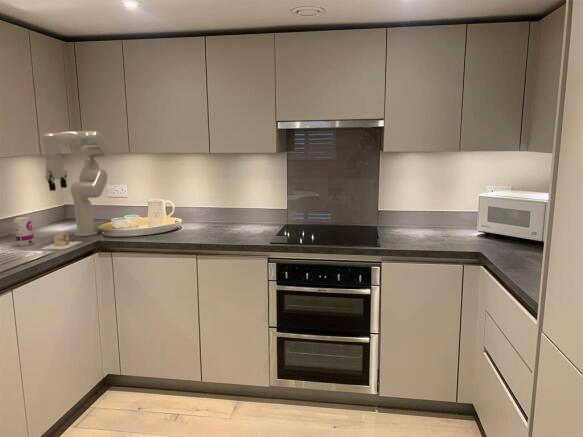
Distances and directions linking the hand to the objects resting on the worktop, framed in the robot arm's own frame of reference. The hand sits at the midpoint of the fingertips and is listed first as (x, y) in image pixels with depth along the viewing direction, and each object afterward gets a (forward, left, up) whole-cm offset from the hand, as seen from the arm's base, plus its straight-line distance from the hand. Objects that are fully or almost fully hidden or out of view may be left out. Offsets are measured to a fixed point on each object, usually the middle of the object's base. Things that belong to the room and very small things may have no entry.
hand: (58, 189), depth 242 cm
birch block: (+5, +2, -30) cm, 30 cm away
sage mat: (+5, +2, -30) cm, 31 cm away
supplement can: (+3, -21, -30) cm, 37 cm away
